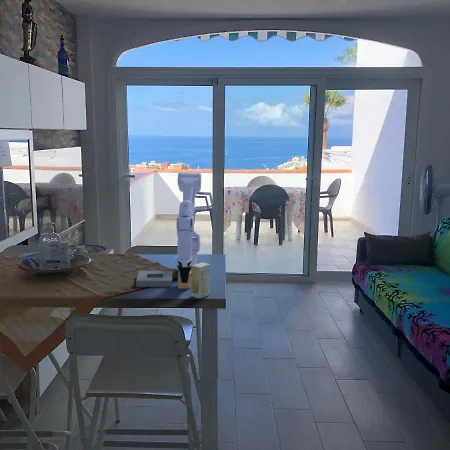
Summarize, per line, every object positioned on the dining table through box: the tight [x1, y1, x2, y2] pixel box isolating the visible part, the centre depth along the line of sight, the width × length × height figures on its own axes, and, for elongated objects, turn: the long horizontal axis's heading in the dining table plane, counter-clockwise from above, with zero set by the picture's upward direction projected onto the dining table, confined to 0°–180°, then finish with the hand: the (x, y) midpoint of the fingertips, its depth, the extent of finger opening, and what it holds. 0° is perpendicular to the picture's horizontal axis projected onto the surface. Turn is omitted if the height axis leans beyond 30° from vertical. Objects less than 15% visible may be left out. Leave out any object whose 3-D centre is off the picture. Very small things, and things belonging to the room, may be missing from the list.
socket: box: [135, 270, 173, 288], centre depth 198 cm, size 14×14×2 cm
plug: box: [177, 270, 191, 289], centre depth 192 cm, size 4×5×8 cm
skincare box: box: [190, 261, 211, 299], centre depth 182 cm, size 6×4×12 cm
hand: (184, 280), depth 192 cm, fingers open, 7 cm apart
